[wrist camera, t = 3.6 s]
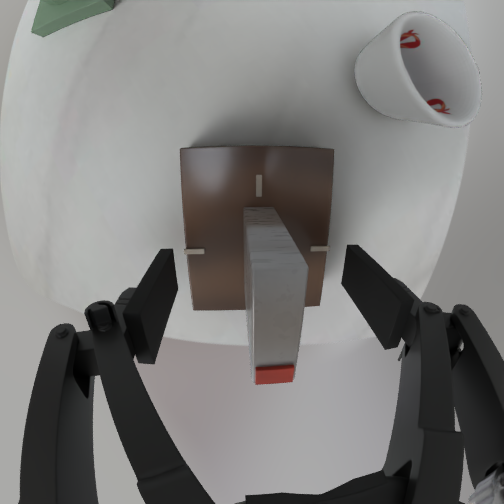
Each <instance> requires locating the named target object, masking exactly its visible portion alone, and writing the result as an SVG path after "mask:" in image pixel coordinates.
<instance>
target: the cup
mask: <svg viewBox="0 0 504 504" xmlns="http://www.w3.org/2000/svg"><path fill="white" fill-rule="evenodd" d="M355 80H356V84H357V86H358V89H359V91H360V93H361V94H362V96H363V98H364V99H365V100H366V101H367V103H368V104H369V105H370V106H371V107H373V108H374V109H375V110H376V111H378V112H380V113H381V114H383V115H385V116H388V117H391V118H395V119H400V120H408V121H415V122H422V123H428V124H434V125H439V126H445V127H450V128H459V127H463V126H466V125H467V124H469V123H470V122H472V120H473V119H474V118H475V117H476V115H477V113H478V111H479V108H480V104H481V97H482V88H481V80H480V72H479V69H478V66H477V64H476V63H475V61H474V58H473V56H472V54H471V52H470V51H469V49H468V47H467V46H466V44H465V43H464V42H463V40H462V39H461V38H460V36H459V35H458V34H457V33H456V32H455V31H454V30H453V29H452V28H451V27H450V26H449V25H447V24H446V23H445V22H443V21H442V20H440V19H439V18H437V17H435V16H433V15H430V14H428V13H424V12H417V11H413V12H407V13H405V14H402V15H401V16H399V17H398V18H397V19H395V20H394V21H393V22H392V23H391V24H390V25H389V26H387V27H386V28H385V29H384V30H383V31H382V32H381V33H380V34H379V35H377V36H376V37H375V38H374V39H373V40H372V41H371V42H370V43H369V44H368V45H367V46H366V47H365V48H364V49H363V50H362V51H361V52H360V54H359V56H358V57H357V60H356V63H355Z"/></svg>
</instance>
